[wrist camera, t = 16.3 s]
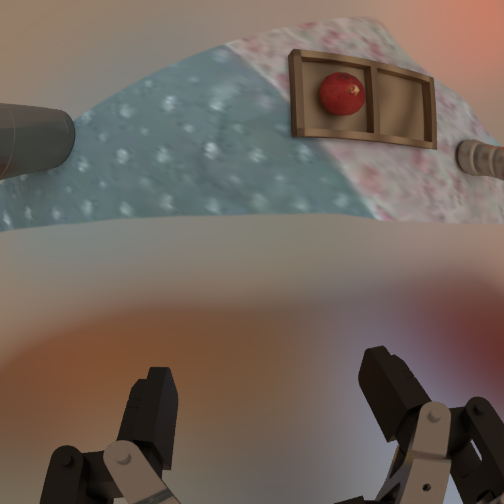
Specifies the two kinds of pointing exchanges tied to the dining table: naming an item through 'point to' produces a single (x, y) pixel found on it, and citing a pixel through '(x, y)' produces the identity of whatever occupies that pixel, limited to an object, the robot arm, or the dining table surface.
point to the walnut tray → (375, 106)
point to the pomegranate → (342, 93)
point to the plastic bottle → (481, 159)
